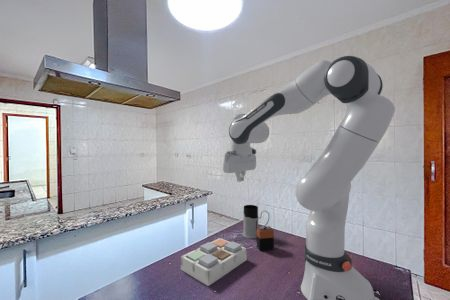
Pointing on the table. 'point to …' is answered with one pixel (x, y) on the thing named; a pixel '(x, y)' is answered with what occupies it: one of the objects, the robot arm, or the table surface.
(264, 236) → the battery
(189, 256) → the key sage
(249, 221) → the glass holder
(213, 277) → the keypad
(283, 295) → the table surface
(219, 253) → the key walnut
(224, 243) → the key terracotta
